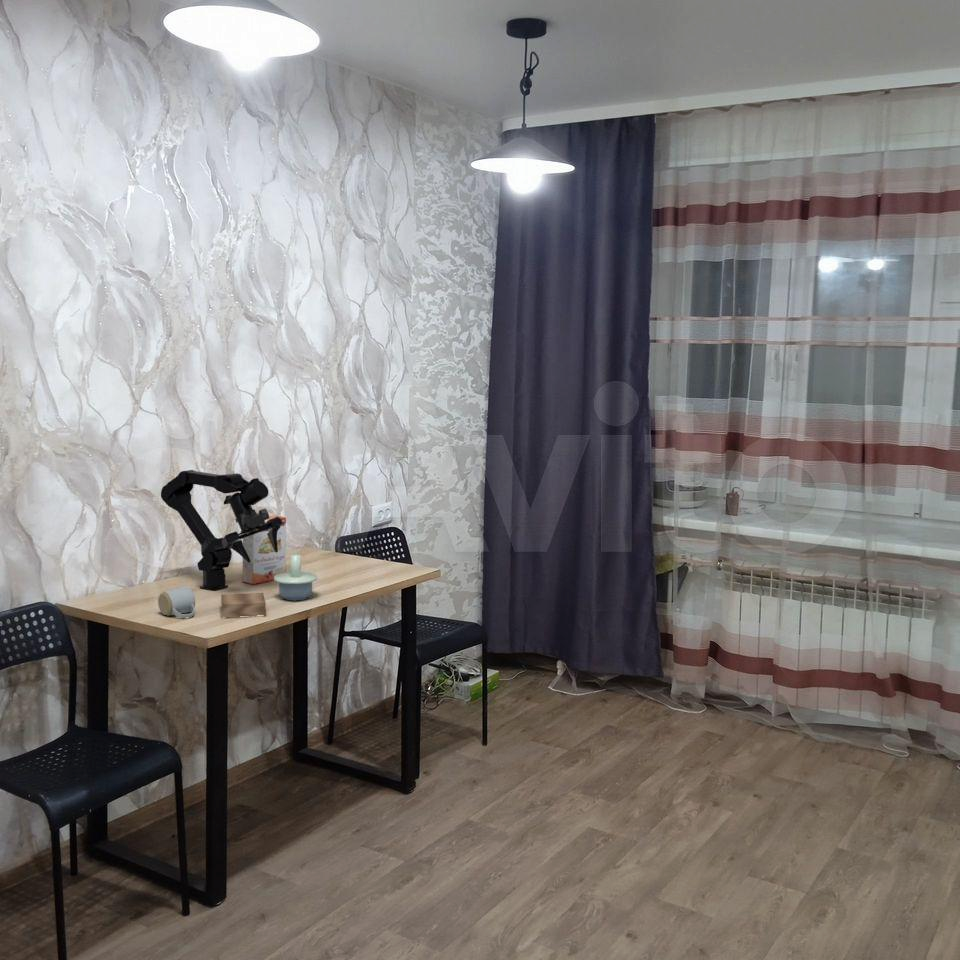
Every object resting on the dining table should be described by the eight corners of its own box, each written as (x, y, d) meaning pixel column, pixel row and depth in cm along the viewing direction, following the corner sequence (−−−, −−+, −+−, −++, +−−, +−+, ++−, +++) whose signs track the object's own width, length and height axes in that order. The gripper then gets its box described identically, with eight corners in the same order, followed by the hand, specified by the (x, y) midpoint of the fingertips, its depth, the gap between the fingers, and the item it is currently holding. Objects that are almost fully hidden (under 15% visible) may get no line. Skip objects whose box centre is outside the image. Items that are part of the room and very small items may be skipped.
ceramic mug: (156, 614, 280) (156, 588, 279) (181, 609, 286) (181, 583, 285) (177, 621, 273) (176, 595, 272) (202, 616, 279) (202, 590, 278)
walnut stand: (222, 618, 276) (222, 604, 276) (221, 607, 288) (221, 594, 287) (265, 616, 280) (265, 602, 279) (263, 605, 291) (263, 592, 290)
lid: (273, 584, 293) (272, 559, 292) (274, 574, 305) (274, 551, 304) (317, 583, 295) (317, 559, 294) (317, 573, 308) (317, 550, 307)
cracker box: (253, 585, 316) (253, 521, 314) (241, 582, 320) (241, 519, 317) (287, 578, 327) (286, 516, 325) (274, 575, 331) (274, 514, 328)
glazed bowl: (272, 599, 299) (272, 580, 298) (293, 592, 308) (293, 574, 307) (297, 603, 294) (297, 584, 293) (318, 597, 303) (318, 578, 302)
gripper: (221, 513, 291) (242, 560, 289) (277, 494, 301) (298, 540, 299) (212, 524, 300) (233, 570, 298) (267, 505, 310) (287, 549, 308)
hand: (263, 557), depth 301 cm, fingers open, 9 cm apart
